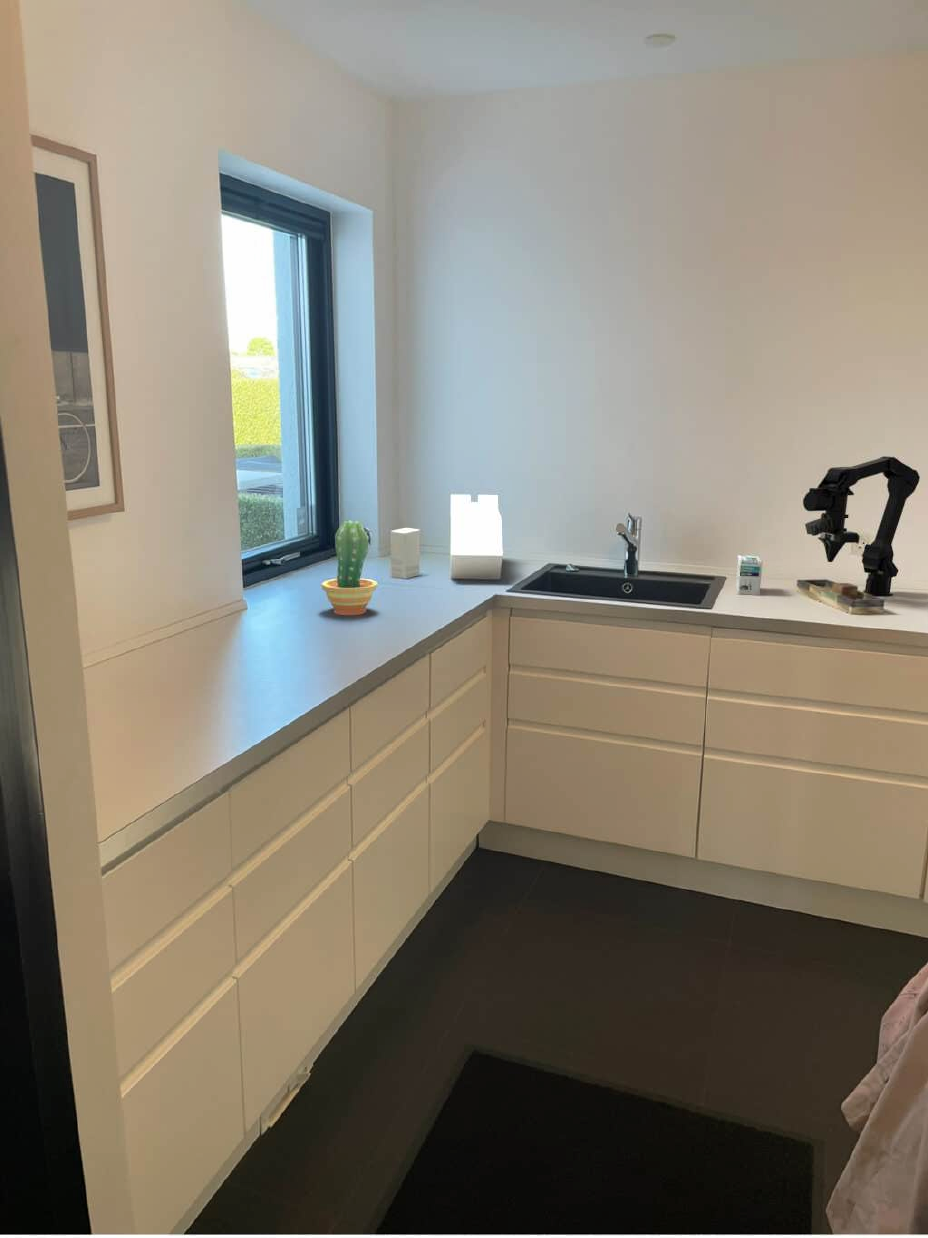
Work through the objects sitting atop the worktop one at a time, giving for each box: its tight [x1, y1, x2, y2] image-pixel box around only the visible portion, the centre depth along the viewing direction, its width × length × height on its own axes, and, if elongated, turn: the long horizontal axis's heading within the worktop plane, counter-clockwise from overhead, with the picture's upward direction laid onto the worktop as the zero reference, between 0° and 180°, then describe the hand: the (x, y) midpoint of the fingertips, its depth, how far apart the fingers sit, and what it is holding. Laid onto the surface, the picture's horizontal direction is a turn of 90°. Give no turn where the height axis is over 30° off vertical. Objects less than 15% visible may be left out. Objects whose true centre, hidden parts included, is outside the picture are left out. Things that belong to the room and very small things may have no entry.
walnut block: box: [832, 582, 859, 600], centre depth 272 cm, size 5×5×4 cm
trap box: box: [795, 578, 886, 615], centre depth 276 cm, size 10×30×4 cm, turn 10°
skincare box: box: [390, 527, 421, 580], centre depth 304 cm, size 8×7×16 cm
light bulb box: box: [735, 554, 763, 596], centre depth 289 cm, size 11×7×11 cm, turn 169°
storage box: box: [449, 494, 504, 580], centre depth 312 cm, size 26×16×35 cm
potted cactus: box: [321, 520, 378, 616], centre depth 252 cm, size 15×16×25 cm
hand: (829, 561), depth 279 cm, fingers closed
